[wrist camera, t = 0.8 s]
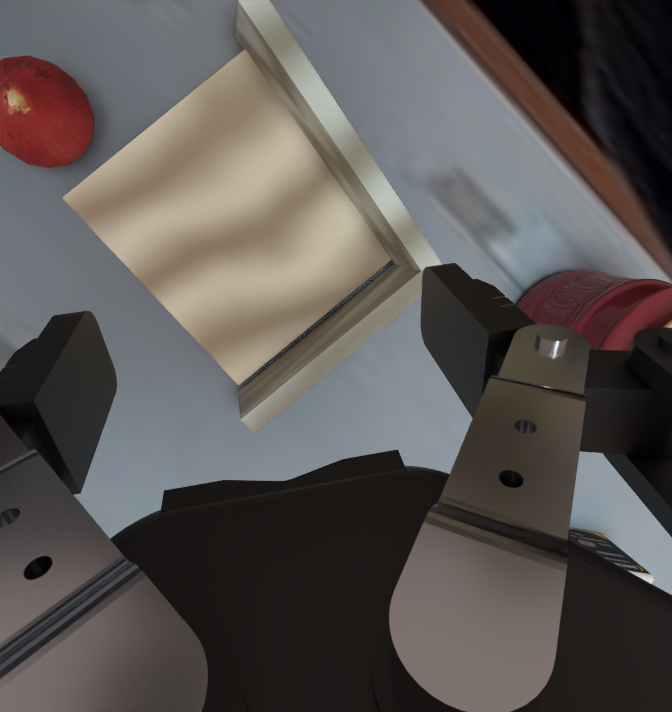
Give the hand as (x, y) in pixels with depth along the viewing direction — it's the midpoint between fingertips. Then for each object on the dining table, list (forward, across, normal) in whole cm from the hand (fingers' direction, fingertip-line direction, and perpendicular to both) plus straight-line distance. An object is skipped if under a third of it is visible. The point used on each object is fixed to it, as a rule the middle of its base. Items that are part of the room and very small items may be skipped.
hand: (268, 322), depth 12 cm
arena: (+26, +1, +6) cm, 27 cm away
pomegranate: (+28, +12, -2) cm, 30 cm away
